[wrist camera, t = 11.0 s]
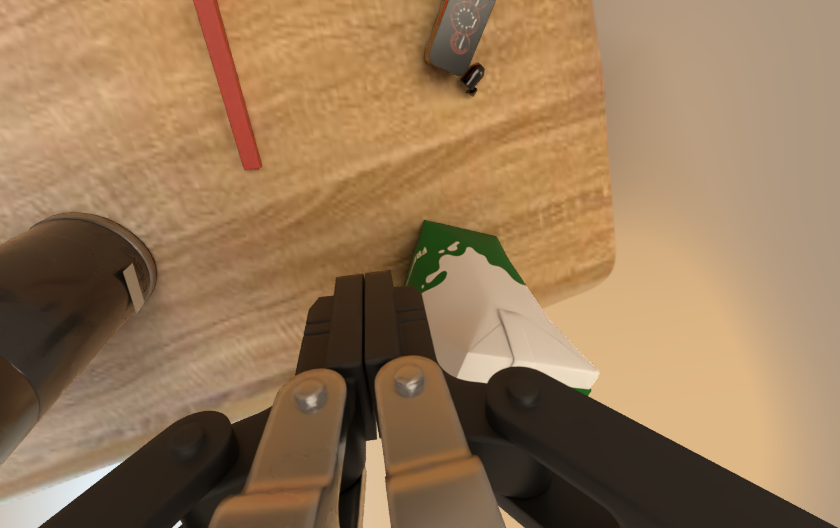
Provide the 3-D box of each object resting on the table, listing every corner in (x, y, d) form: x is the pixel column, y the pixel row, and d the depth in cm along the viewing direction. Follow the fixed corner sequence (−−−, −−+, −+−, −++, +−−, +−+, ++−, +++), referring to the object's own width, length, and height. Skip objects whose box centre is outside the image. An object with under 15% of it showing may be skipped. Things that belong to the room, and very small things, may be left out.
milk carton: (476, 306, 40) (561, 502, 23) (390, 290, 38) (412, 494, 21) (509, 229, 37) (639, 395, 19) (415, 207, 34) (468, 371, 17)
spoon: (226, 170, 31) (222, 173, 30) (133, -117, 23) (125, -123, 22) (283, 163, 31) (280, 166, 31) (211, -122, 23) (206, -128, 22)
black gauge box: (416, 71, 29) (421, 74, 26) (455, -39, 26) (466, -49, 24) (471, 96, 31) (482, 101, 28) (515, -7, 28) (532, -13, 25)
